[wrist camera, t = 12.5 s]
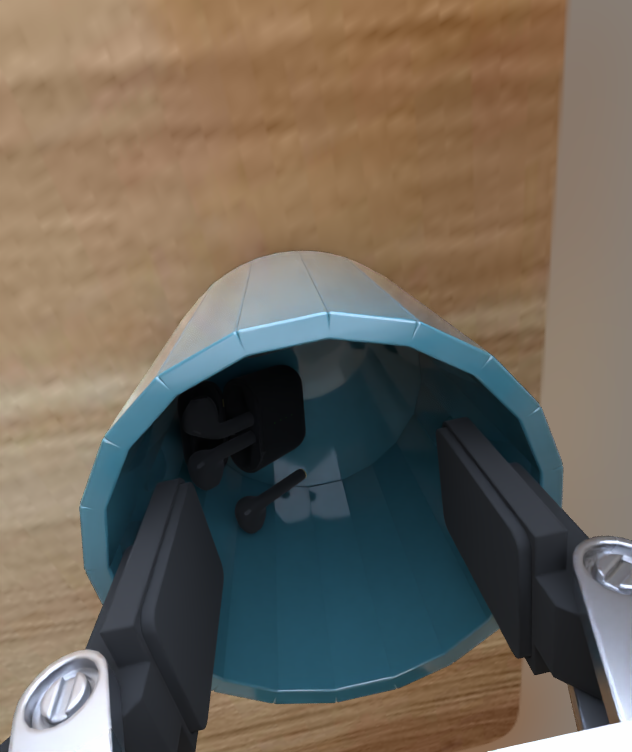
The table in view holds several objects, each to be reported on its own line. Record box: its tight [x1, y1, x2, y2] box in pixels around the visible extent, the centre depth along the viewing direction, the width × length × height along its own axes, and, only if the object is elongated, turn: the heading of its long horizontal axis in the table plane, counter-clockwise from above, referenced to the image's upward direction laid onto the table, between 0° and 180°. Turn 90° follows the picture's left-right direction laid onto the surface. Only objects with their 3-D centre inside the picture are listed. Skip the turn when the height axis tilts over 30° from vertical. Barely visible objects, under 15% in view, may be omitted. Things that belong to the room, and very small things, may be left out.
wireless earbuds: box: [177, 347, 306, 534], centre depth 15 cm, size 7×2×5 cm
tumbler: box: [79, 251, 563, 704], centre depth 14 cm, size 10×10×9 cm
